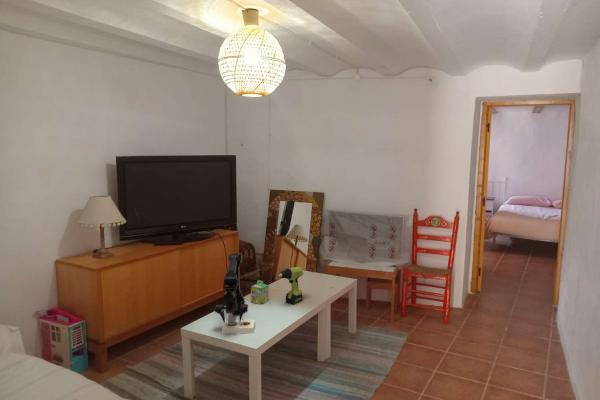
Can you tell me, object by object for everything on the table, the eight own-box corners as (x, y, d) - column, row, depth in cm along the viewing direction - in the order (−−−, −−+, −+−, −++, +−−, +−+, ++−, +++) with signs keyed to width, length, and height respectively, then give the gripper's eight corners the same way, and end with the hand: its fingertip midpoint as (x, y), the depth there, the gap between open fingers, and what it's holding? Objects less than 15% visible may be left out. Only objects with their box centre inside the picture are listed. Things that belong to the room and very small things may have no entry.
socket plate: (225, 325, 265) (225, 320, 264) (255, 324, 265) (255, 319, 265) (222, 333, 253) (222, 328, 252) (253, 332, 253) (253, 327, 253)
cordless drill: (283, 309, 288) (282, 272, 285) (275, 307, 292) (274, 271, 289) (304, 299, 306) (304, 264, 303) (296, 297, 310) (296, 263, 307)
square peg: (229, 327, 261) (229, 314, 260) (236, 327, 261) (235, 314, 260) (228, 330, 257) (228, 317, 256) (235, 330, 257) (234, 317, 256)
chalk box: (250, 302, 302) (250, 282, 300) (258, 298, 310) (257, 278, 308) (262, 304, 297) (261, 283, 296) (269, 300, 306) (268, 280, 304)
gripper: (212, 301, 248) (213, 328, 250) (245, 301, 248) (246, 327, 250) (216, 295, 259) (217, 320, 261) (247, 294, 260) (248, 319, 261)
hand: (232, 322), depth 258 cm, fingers open, 9 cm apart
